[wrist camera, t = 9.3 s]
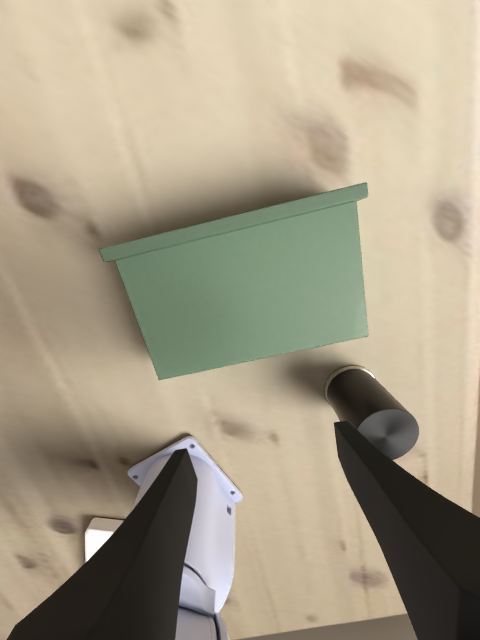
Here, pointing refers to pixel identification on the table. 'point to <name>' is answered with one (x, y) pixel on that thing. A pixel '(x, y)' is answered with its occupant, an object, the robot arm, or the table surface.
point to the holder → (371, 410)
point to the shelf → (248, 284)
